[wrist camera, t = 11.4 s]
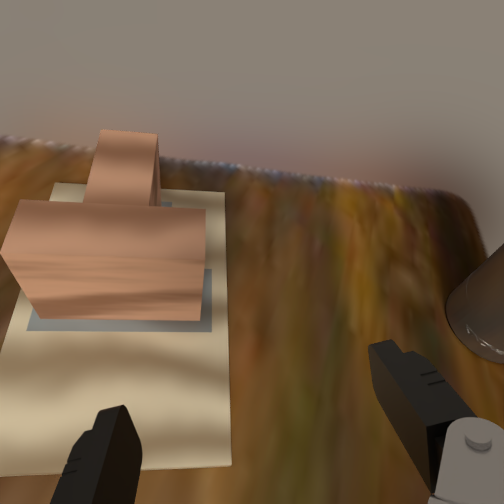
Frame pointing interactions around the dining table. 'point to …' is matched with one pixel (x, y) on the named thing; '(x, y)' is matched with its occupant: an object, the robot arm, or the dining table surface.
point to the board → (122, 371)
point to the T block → (111, 243)
